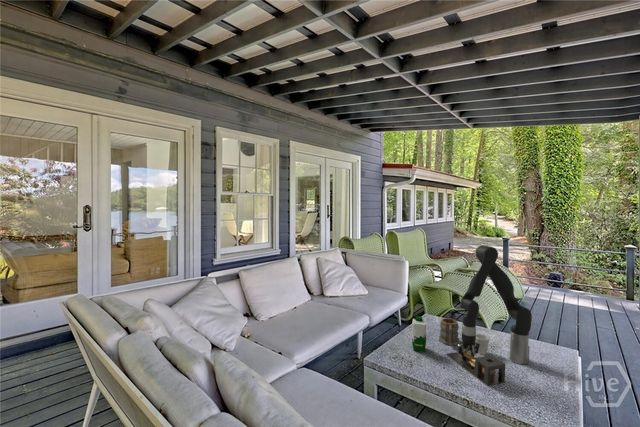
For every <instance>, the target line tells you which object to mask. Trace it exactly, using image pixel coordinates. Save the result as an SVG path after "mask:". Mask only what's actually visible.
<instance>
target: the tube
mask: <svg viewBox="0 0 640 427" xmlns="http://www.w3.org/2000/svg"><path fill="white" fill-rule="evenodd" d="M470 353H471V352H469V351H468V352H467V353H466V362H468V363H469V364H470V365H472V366H473V367H474V368H475V358H477V357H476V356H475V357H474V356H473V355H471V354H470ZM460 357H461V358H462V355H460ZM484 368H485V366H484V365H483V364H481V373H483V374H484ZM495 375H496V370H495V371H494V370H491V379H492V378H493V377H494V376H495Z"/></svg>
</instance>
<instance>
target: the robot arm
mask: <svg viewBox="0 0 640 427" xmlns="http://www.w3.org/2000/svg"><path fill="white" fill-rule="evenodd" d="M475 257H476V258H477V260H478V261H479V262H480V264H481V265H480V267H479V269H478V270H477V272H476V273H474V275H473V277H472V278H471V280H470V281H469V282H470V283H469V286H468V289H467V290H466V292H465V293H464V294H463V296H462V298H461V299H460V306H461V308H462V309H464V310H466V311H467V313H465V314H464V313H463V316H462V326H461V343H459V344H457V345H456V347H457V352H459V354H460V355H462V361H463V362H466V353H467V352H468V353H470V354H471V355H473V356H474V357H476V356H475V355H476V354H479V353H478V350H479V346H480V344H479V343H477V342H476V335H477V326H476V325H477V318H478V314H479V311H480V305H479V302H477V301H476V300H474V299H475V298H479V297H480V296H481V294H482V291H483V288H484V286H485V282H486V280H487V278H488V276H489V279H490V280H491V282H492V284H493V286H494V287H495V290H496V291H497V293H498V295H499V296H500V298H501V299H502V302H503V303H504V305H505V307H506V310H507V313H508V315H509V316H510V317H511V319H513V320H515V324H514V325H511V326H510V335H509V336H510V340H509V341H510V342H509V360H510V361H511V362H513V363H515V364H519V365H526V364H528V363H529V362H530V348H531V347H530V346H529V339H530V338H529V337H530V336H529V335H530V331H531V327H532V320H533V318H532V317H533V316H532V314H533V313H532V311H531V310H530V309H529V308H527V307H525V306H523V305H521V304H520V303H519V301H518V300H517V298H516V296H515V288H514V285H513V283H512V281H511V279H510V277H509V276H508V274H507V273H506V272H505V271H504V270H503V269H502V268H501V267H500V266H499V265H498V263H496V262H497V260H498V258H499V251H498V249H496V248H495V247H492V246H488V245H478V246H477V248H476V249H475Z"/></svg>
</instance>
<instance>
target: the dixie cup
mask: <svg viewBox="0 0 640 427" xmlns="http://www.w3.org/2000/svg"><path fill="white" fill-rule="evenodd" d="M476 342H477V343H479V344H480V346H479V350H478V353H477V354H479V355H483V356H486V355H487V354H488V348H489V342H490V336H488V335H485V334H482V333H481V334H480V333H478V334H477V333H476Z"/></svg>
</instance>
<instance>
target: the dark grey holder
mask: <svg viewBox="0 0 640 427" xmlns="http://www.w3.org/2000/svg"><path fill="white" fill-rule="evenodd" d="M445 356H447V357H448V358H450V359H451V360H452V361H453V362H455V363H456V364H457V365H459V366H460V367H461V368H463V370H465V371H466V372H468V373H469V374H470V375H471V376H473V377H475V378H476V379H477V380H478V381H480V382H481V383H482V384H484V386H487V387H491V386H496V385H497V386H498V385H503V384H507V382H506V363H504V362H503V361H502V360H500V359H498V358H497V357H496V356H493V355H483V356H479V357H476V358H475V368H474V367H473V366H472V365H470V364H469V363H468V362H463V361H462V358H461V357H460V354H459V352H458V351H456V352H450V353H445ZM481 364H483V365H484V366H485V368H484V374H483V373H481ZM491 370H494V371H495V372H496V371H498V373H497V374H495V376H494V377H493V378H492V379H491Z"/></svg>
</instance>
